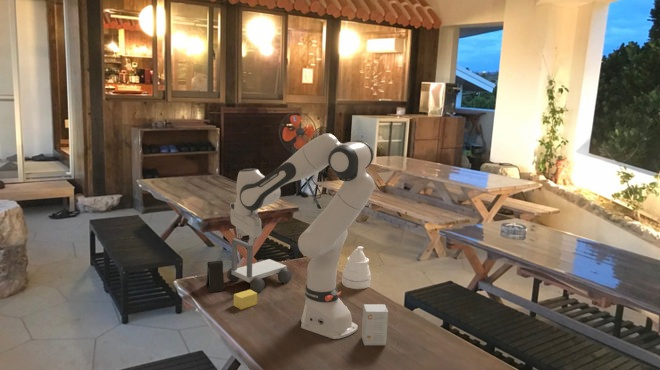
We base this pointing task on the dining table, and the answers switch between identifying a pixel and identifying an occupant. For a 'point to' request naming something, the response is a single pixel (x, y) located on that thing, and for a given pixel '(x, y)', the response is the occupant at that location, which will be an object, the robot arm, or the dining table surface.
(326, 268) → the robot arm
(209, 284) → the phone stand
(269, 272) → the flatbed trolley
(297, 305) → the dining table surface
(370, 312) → the small box
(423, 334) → the dining table surface
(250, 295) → the tall gold block
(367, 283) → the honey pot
